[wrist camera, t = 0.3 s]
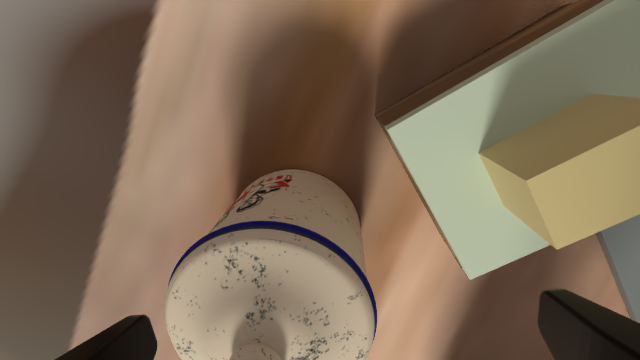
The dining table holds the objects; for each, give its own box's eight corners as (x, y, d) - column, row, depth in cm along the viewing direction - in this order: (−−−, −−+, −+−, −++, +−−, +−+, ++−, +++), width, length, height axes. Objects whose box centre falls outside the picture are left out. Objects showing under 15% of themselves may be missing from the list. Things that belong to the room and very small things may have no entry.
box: (614, 151, 19) (681, 170, 15) (440, 233, 22) (461, 268, 18) (562, 5, 17) (625, -13, 13) (374, 115, 19) (383, 125, 16)
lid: (669, 166, 16) (835, 214, 11) (458, 261, 18) (507, 340, 13) (613, -9, 14) (784, -60, 9) (382, 124, 16) (403, 150, 11)
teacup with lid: (281, 134, 20) (209, 210, 9) (392, 221, 22) (446, 378, 10) (183, 263, 24) (44, 433, 12) (284, 331, 25) (240, 538, 14)
